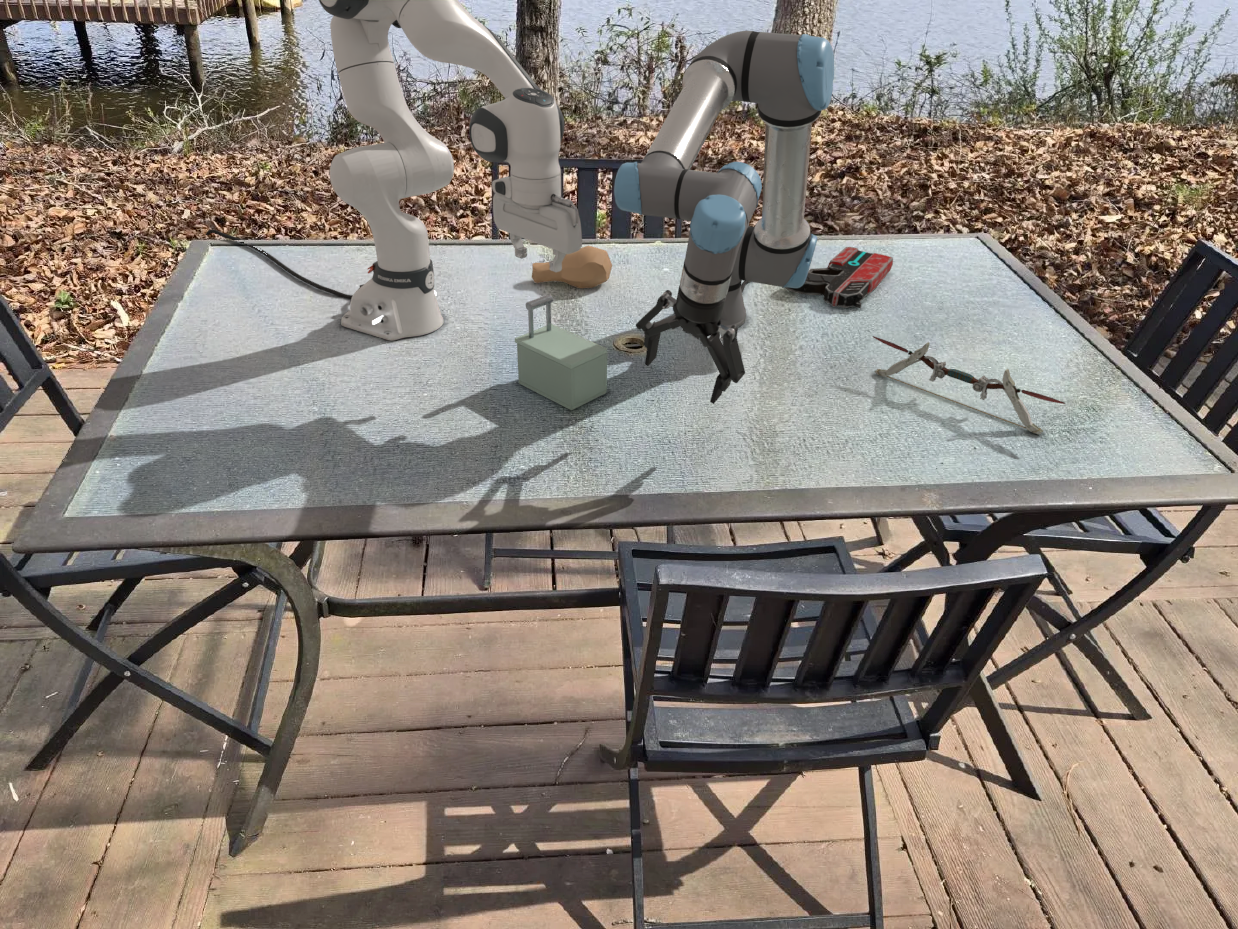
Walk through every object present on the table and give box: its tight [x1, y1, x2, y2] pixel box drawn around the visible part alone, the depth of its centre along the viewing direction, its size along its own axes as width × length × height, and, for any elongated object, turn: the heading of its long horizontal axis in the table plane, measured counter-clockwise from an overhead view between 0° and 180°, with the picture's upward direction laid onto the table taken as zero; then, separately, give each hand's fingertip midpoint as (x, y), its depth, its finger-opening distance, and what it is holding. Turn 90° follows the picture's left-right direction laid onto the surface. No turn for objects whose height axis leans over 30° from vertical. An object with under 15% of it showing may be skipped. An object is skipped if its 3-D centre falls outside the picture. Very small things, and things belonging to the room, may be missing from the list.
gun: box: [784, 246, 894, 309], centre depth 220 cm, size 4×31×19 cm
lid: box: [514, 293, 608, 369], centre depth 166 cm, size 16×10×8 cm, turn 47°
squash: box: [531, 245, 613, 289], centre depth 215 cm, size 11×20×9 cm, turn 90°
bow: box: [872, 335, 1066, 435], centre depth 169 cm, size 39×2×10 cm, turn 47°
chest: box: [516, 343, 608, 411], centre depth 170 cm, size 15×10×9 cm, turn 47°
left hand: (538, 263), depth 163 cm, fingers open, 8 cm apart
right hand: (682, 379), depth 153 cm, fingers open, 13 cm apart
